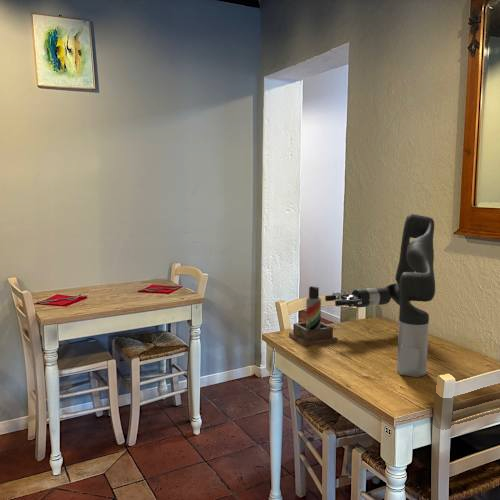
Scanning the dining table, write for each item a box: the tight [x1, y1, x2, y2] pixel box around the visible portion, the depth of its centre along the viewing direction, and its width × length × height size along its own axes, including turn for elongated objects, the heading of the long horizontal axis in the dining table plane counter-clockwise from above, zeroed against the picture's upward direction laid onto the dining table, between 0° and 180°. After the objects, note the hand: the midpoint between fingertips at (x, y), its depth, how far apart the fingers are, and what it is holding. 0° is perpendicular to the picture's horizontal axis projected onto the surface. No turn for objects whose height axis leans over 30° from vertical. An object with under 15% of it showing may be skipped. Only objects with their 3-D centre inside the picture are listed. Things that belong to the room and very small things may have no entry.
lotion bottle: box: [305, 285, 322, 330], centre depth 193 cm, size 6×6×20 cm
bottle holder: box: [288, 321, 338, 348], centre depth 194 cm, size 14×14×6 cm
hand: (330, 300), depth 195 cm, fingers open, 8 cm apart
